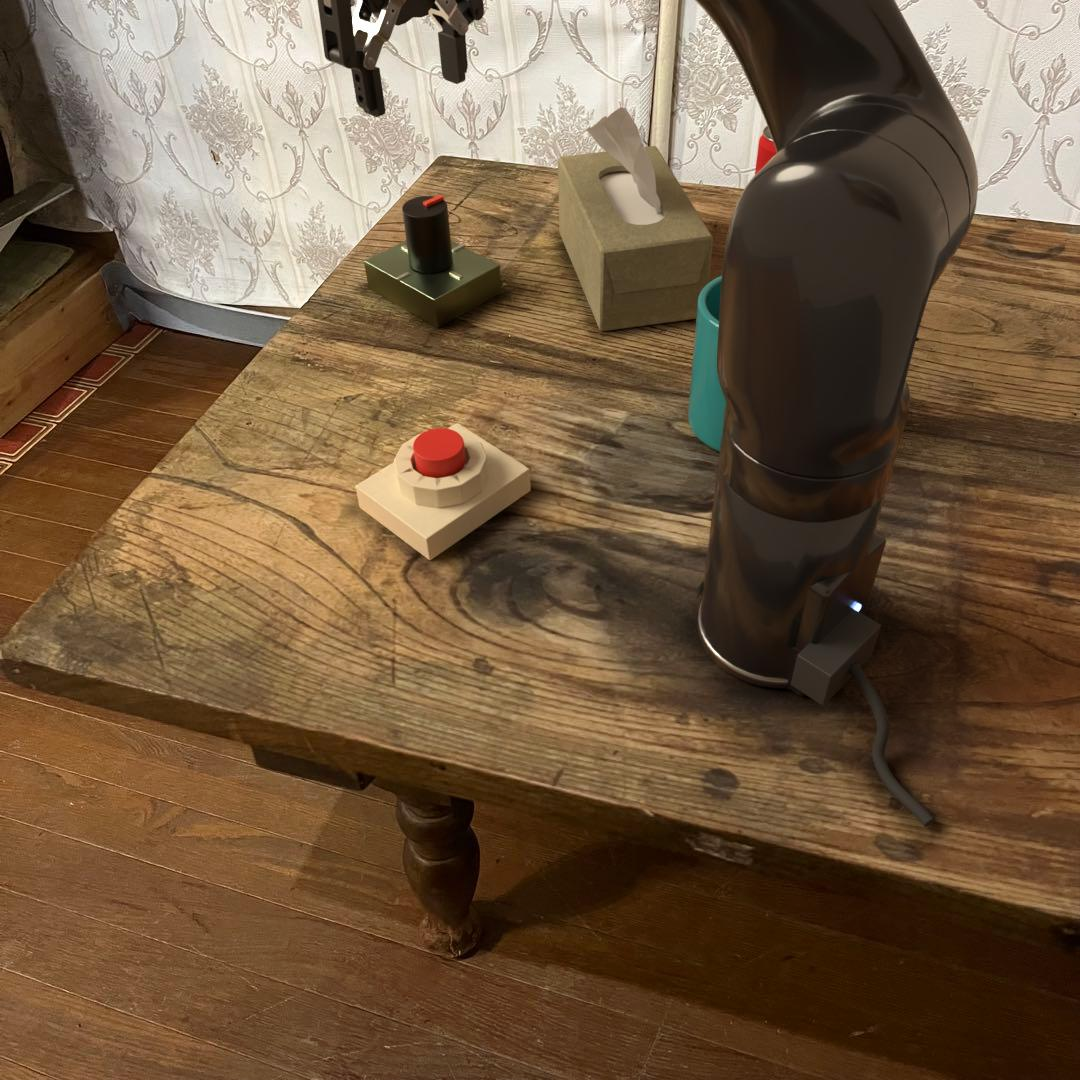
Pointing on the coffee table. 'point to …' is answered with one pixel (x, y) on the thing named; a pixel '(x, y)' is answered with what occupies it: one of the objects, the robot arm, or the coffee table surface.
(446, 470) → the power button
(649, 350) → the coffee table surface
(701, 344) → the cup
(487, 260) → the control panel
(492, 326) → the coffee table surface
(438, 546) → the switch box
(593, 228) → the tissue box
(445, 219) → the dial
